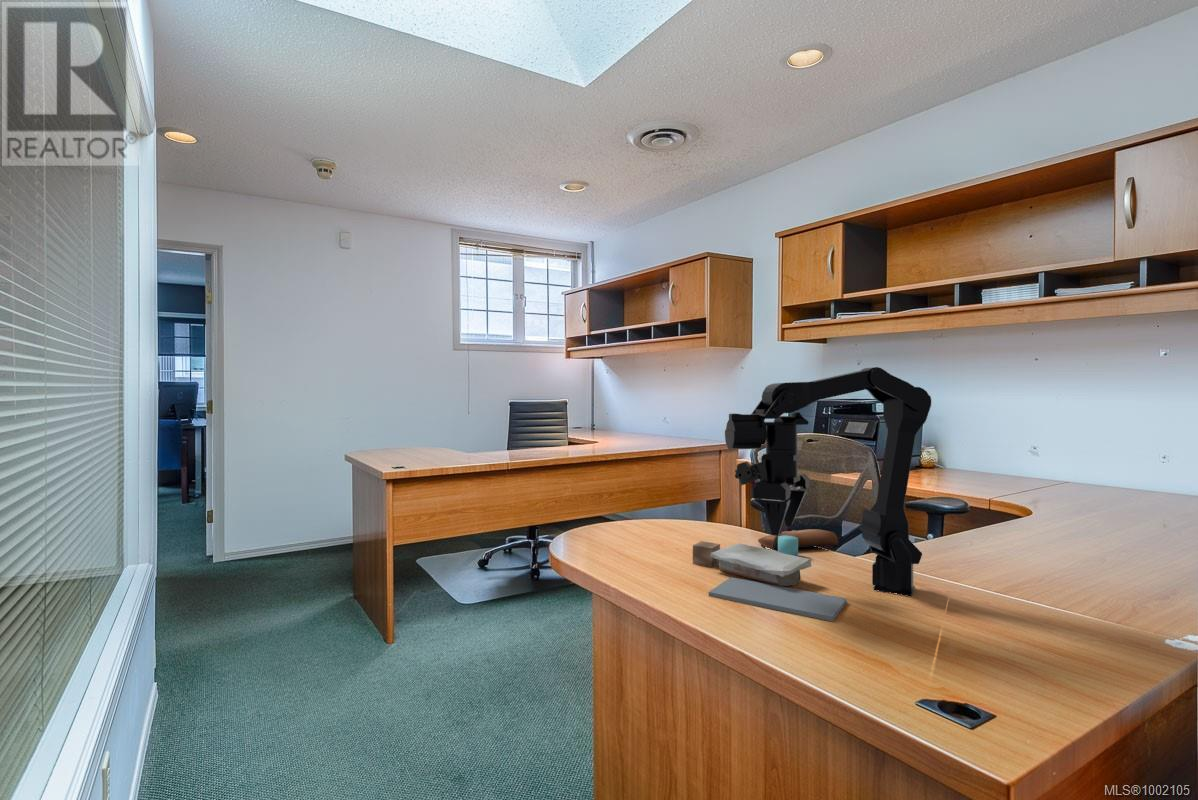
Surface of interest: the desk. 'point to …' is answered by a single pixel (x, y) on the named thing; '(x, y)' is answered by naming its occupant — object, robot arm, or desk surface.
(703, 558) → the walnut block
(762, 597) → the mat
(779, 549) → the teal cylinder
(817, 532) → the sweet potato
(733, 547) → the light grey block
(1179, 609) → the desk surface
